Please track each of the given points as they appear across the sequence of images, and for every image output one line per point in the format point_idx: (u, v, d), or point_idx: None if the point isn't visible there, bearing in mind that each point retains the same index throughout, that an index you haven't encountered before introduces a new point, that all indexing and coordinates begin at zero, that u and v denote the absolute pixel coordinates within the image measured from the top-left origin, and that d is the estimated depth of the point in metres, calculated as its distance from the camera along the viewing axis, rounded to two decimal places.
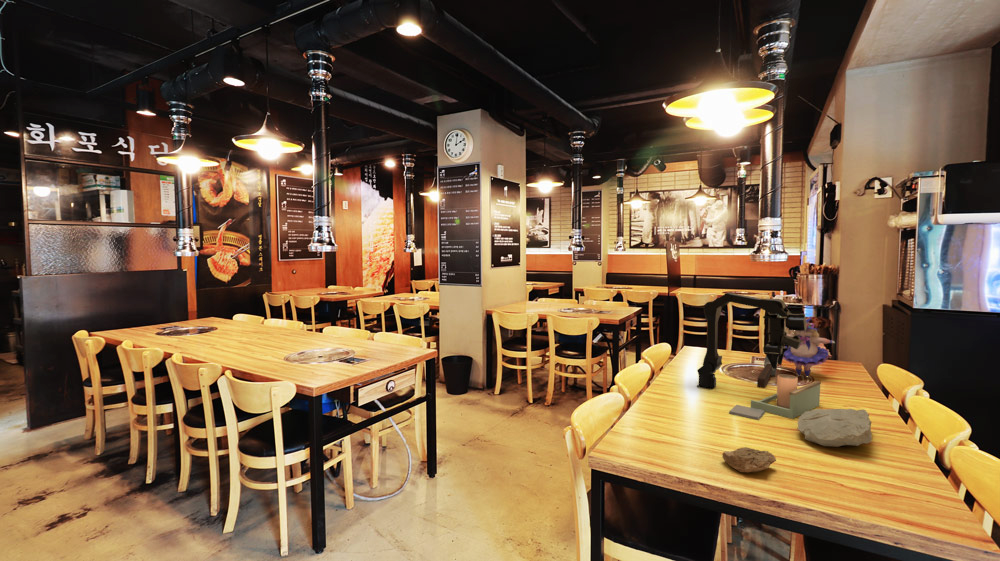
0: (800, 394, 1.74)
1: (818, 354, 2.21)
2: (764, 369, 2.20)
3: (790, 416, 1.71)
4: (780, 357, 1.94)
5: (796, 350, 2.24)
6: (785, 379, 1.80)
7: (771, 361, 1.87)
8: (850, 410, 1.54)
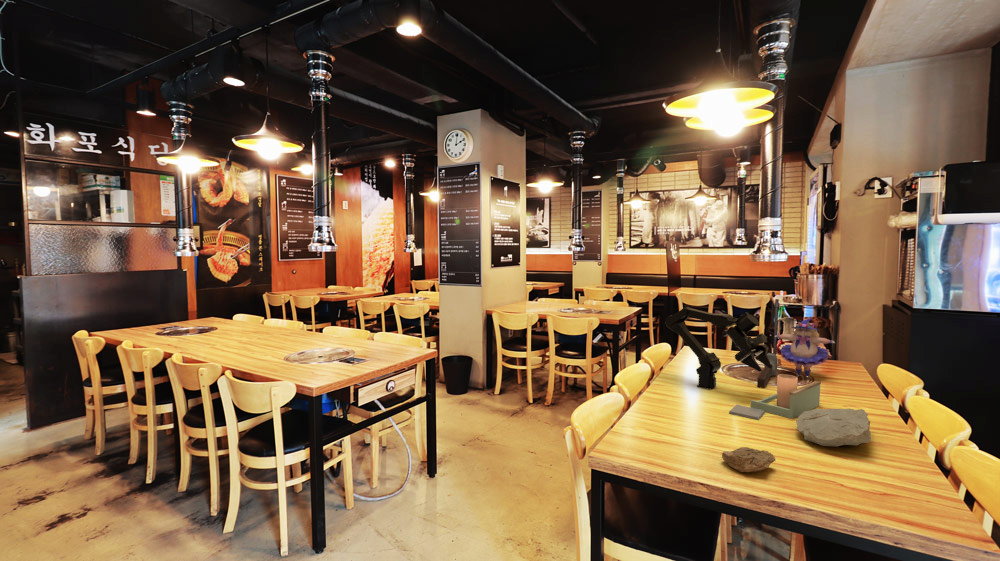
0: (800, 394, 1.74)
1: (818, 354, 2.21)
2: (764, 369, 2.20)
3: (790, 416, 1.71)
4: (766, 361, 1.94)
5: (796, 350, 2.24)
6: (785, 379, 1.80)
7: (752, 366, 1.88)
8: (849, 410, 1.54)
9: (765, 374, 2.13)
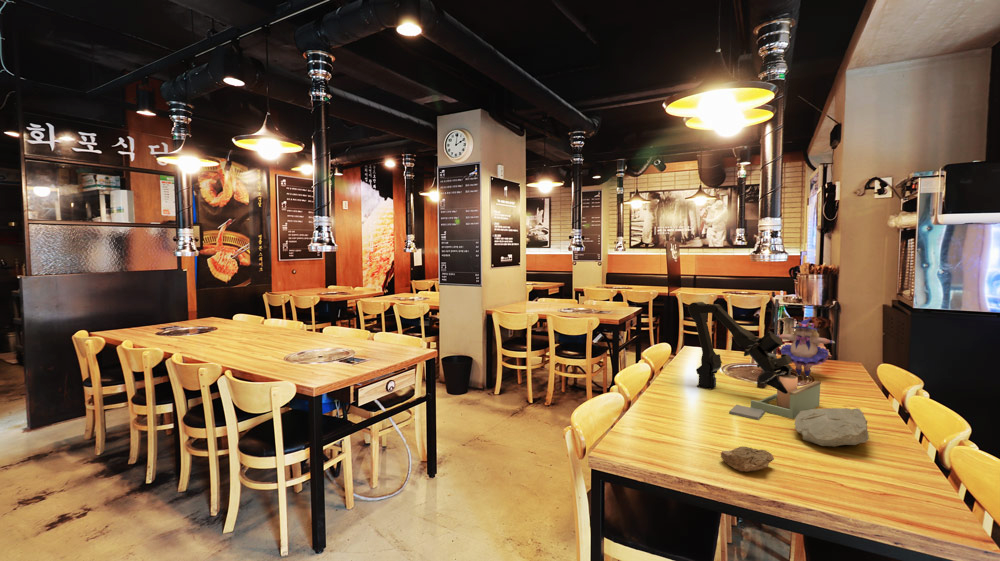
0: (800, 394, 1.74)
1: (818, 354, 2.21)
2: None
3: (790, 416, 1.71)
4: None
5: (796, 350, 2.24)
6: (785, 379, 1.80)
7: (778, 388, 1.82)
8: (846, 409, 1.55)
9: None
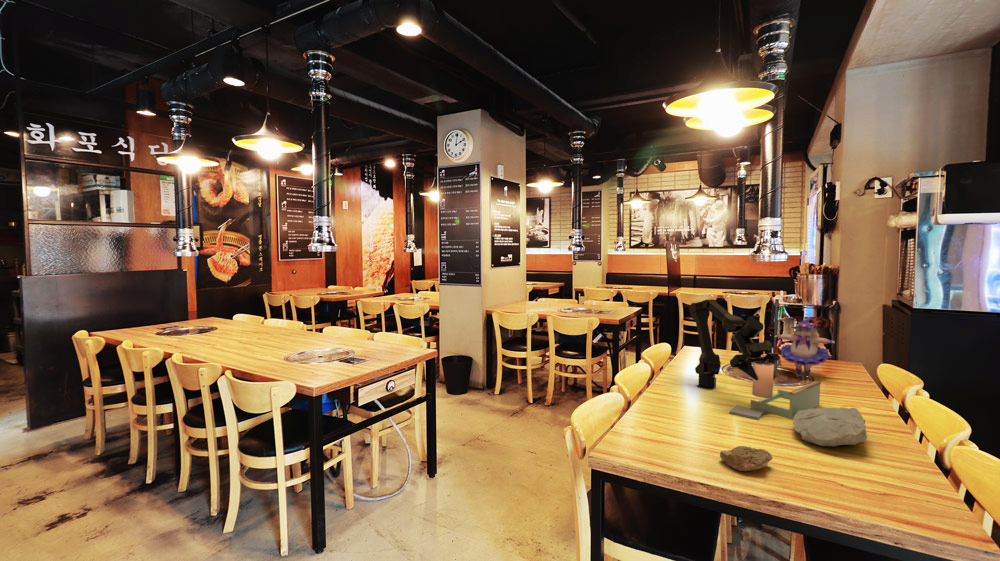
0: (800, 394, 1.74)
1: (818, 354, 2.21)
2: None
3: (790, 416, 1.71)
4: None
5: (796, 350, 2.24)
6: (757, 365, 1.75)
7: (749, 374, 1.77)
8: (843, 409, 1.55)
9: None
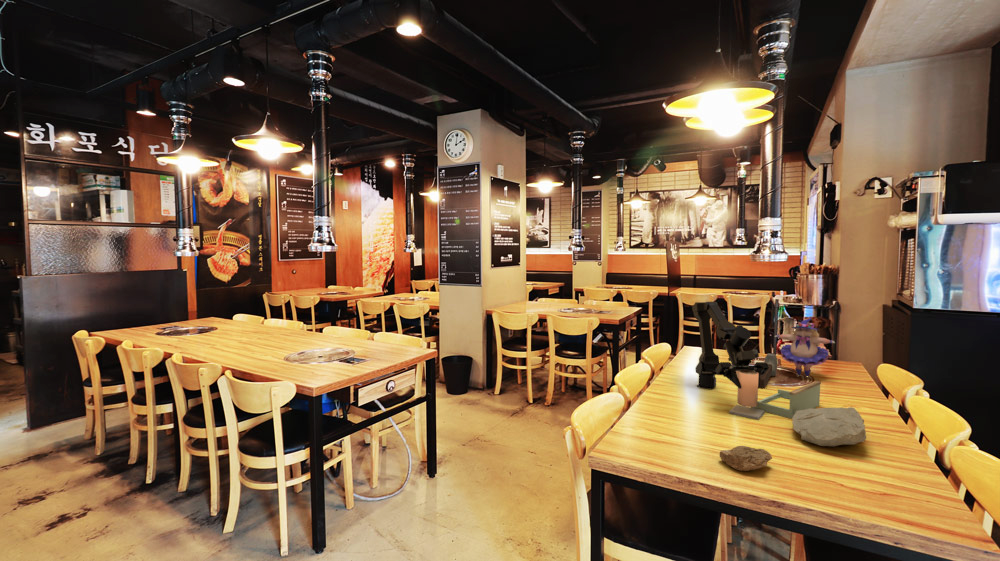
0: (800, 394, 1.74)
1: (818, 354, 2.21)
2: None
3: (790, 416, 1.71)
4: None
5: (796, 350, 2.24)
6: (740, 373, 1.75)
7: (733, 382, 1.77)
8: (842, 409, 1.56)
9: (765, 374, 2.12)
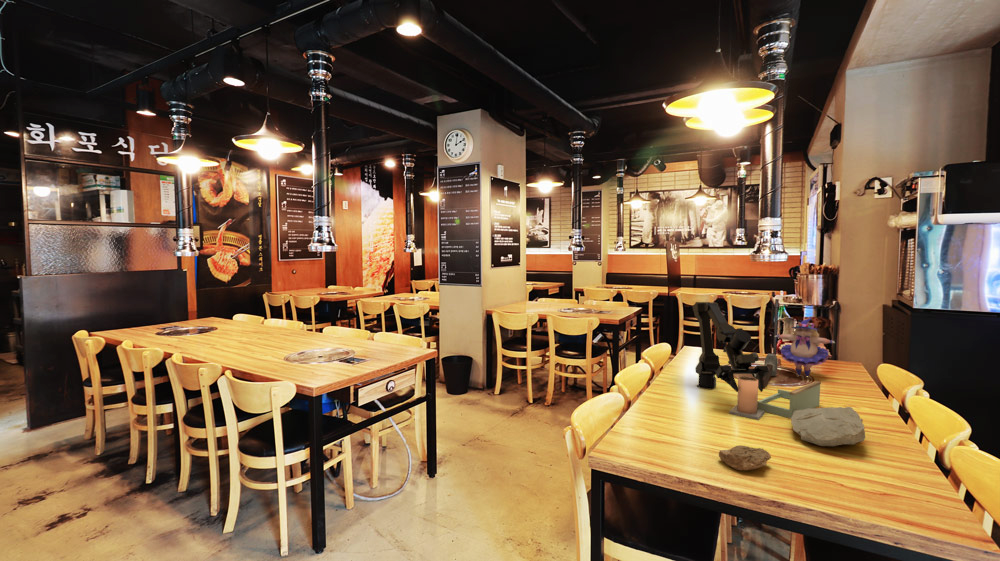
0: (800, 394, 1.74)
1: (818, 354, 2.21)
2: None
3: (790, 416, 1.71)
4: (759, 383, 1.76)
5: (796, 350, 2.24)
6: (740, 380, 1.75)
7: (731, 385, 1.77)
8: (840, 408, 1.56)
9: None
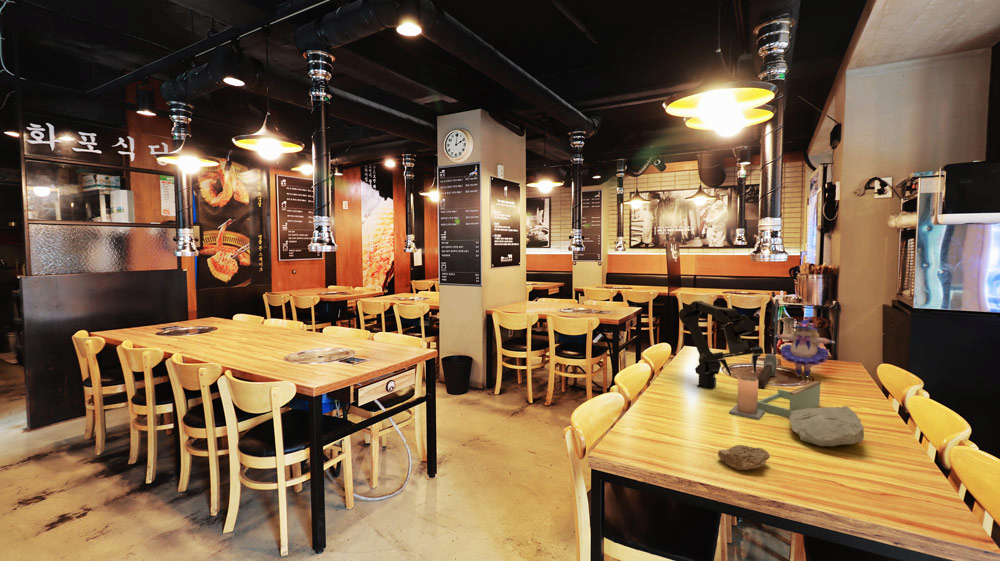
0: (800, 394, 1.74)
1: (818, 354, 2.21)
2: (763, 370, 2.19)
3: None
4: (753, 365, 1.89)
5: (796, 350, 2.24)
6: (740, 380, 1.75)
7: None
8: (838, 408, 1.56)
9: (764, 375, 2.12)
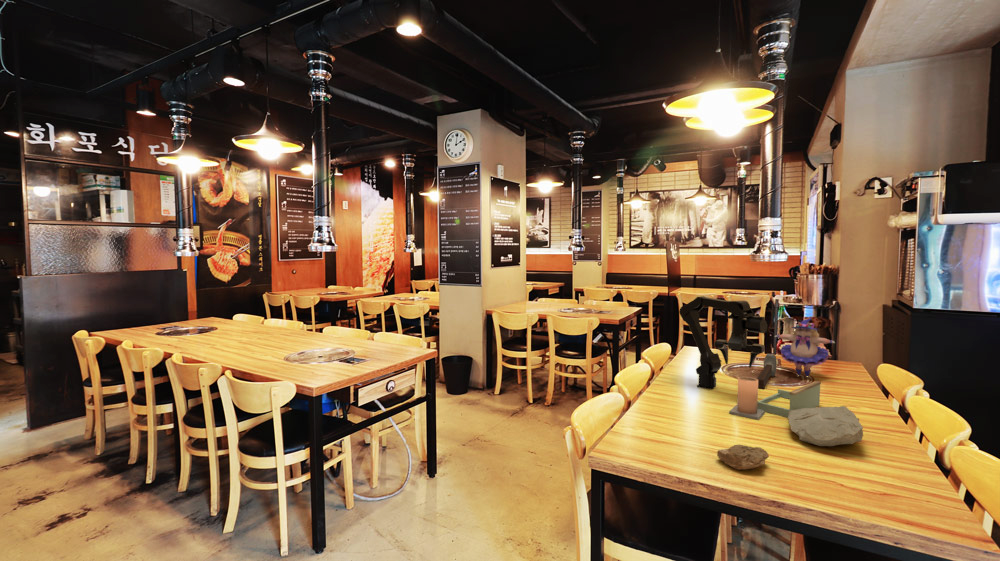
0: (800, 394, 1.74)
1: (818, 354, 2.21)
2: (763, 370, 2.18)
3: None
4: None
5: (796, 350, 2.24)
6: (740, 380, 1.75)
7: None
8: (836, 408, 1.56)
9: (764, 375, 2.12)
